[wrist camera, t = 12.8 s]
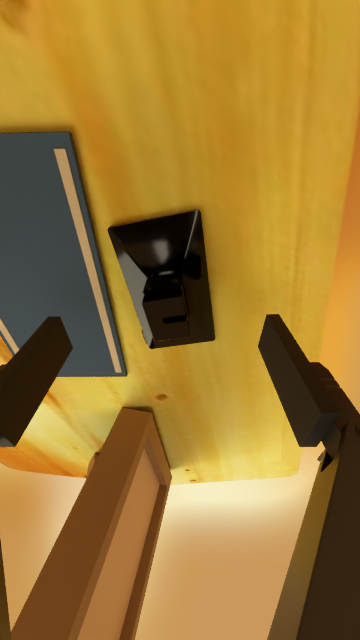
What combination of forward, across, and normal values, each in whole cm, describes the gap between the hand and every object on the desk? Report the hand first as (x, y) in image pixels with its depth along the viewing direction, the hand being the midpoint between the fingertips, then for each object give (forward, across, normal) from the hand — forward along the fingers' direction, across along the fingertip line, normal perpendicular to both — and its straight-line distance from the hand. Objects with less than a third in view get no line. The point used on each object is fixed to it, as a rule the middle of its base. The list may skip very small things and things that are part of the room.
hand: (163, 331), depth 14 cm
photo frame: (+6, -10, -29) cm, 31 cm away
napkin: (+6, -12, 0) cm, 13 cm away
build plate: (+6, 0, 0) cm, 6 cm away
